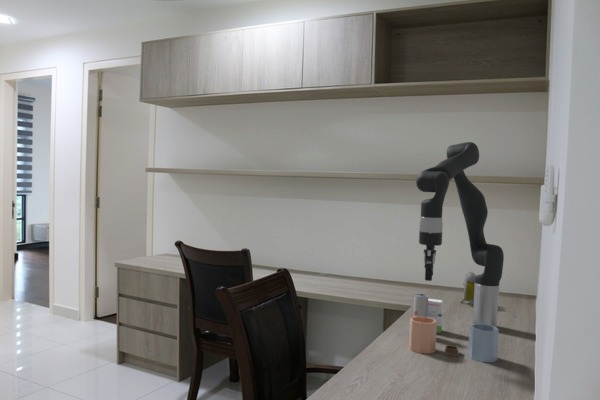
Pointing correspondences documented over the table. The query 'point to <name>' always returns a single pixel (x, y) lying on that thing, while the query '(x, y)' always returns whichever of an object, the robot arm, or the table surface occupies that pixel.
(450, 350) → the brown square tube
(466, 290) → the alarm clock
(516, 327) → the table surface
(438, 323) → the ink box
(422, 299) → the beverage can
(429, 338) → the tube terracotta
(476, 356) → the tube slate
